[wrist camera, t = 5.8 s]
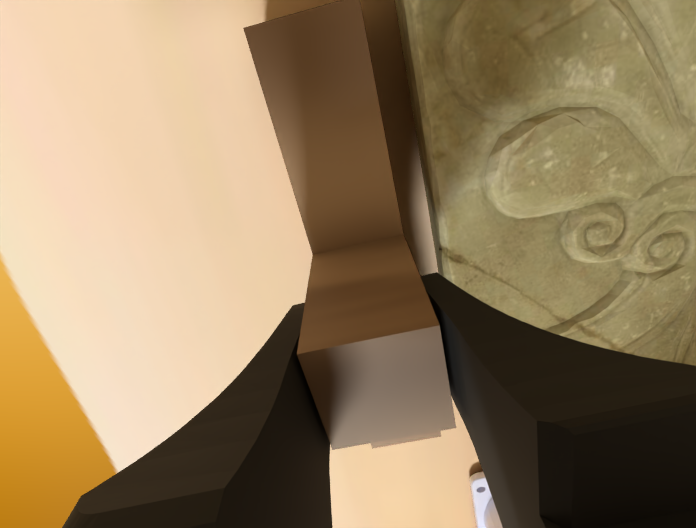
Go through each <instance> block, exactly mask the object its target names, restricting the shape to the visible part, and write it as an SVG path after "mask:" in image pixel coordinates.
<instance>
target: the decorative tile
mask: <svg viewBox="0 0 696 528" xmlns="http://www.w3.org/2000/svg"><path fill="white" fill-rule="evenodd" d="M395 5H396V11H397V17H398V23H399V29H400V36H401V44H402V50H403V55H404V60H405V67H406V73H407V79H408V86H409V93H410V99H411V105H412V111H413V116H414V123H415V129H416V135H417V141H418V148H419V155H420V161H421V167H422V173H423V179H424V185H425V191H426V197H427V203H428V210H429V216H430V222H431V228H432V235H433V241H434V247H435V253H436V259H437V266H438V273H439V274H440V275H442V276H443V277H445V278H446V279H448V280H449V281H450V282H452V283H453V284H455V285H456V286H458V287H459V288H461V289H462V290H464V291H466V292H467V293H469V294H470V295H472V296H474V297H475V298H477V299H479V300H480V301H482V302H484V303H486V304H488V305H489V306H491V307H493V308H495V309H497V310H499V311H501V312H503V313H505V314H507V315H509V316H511V317H514V318H516V319H518V320H520V321H523V322H525V323H528V324H530V325H533V326H535V327H538V328H540V329H543V330H546V331H549V332H551V333H554V334H557V335H560V336H564V337H567V338H570V339H573V340H577V341H580V342H583V343H587V344H590V345H594V346H598V347H602V348H606V349H610V350H615V351H619V352H623V353H628V354H632V355H637V356H641V357H647V358H653V359H659V360H665V361H671V362H677V363H683V364H689V365H695V366H696V0H395Z"/></svg>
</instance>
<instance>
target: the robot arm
mask: <svg viewBox="0 0 696 528" xmlns="http://www.w3.org/2000/svg"><path fill="white" fill-rule="evenodd" d="M420 277H421V280H422V282H423V285H424V287H425V290H426V292H427V295H428V297H429V300H430V302H431V305H432V307H433V310H434V312H435V315H436V317H437V320H438V322H439V325H440V330H441V337H442V343H443V349H444V355H445V362H446V368H447V374H448V380H449V387H450V393H451V396H452V398H453V400H454V402H455V405H456V407H457V409H458V411H459V413H460V415H461V417H462V419H463V421H464V424H465V426H466V428H467V430H468V433H469V435H470V437H471V440H472V442H473V445H474V447H475V450H476V453H477V456H478V459H479V461H480V464H481V467H482V470H483V472H478V473H475V474H473V475H472V476H471V477H470V487H471V493H472V500H473V506H474V513H475V519H476V526H477V528H696V366H695V365H689V364H683V363H677V362H671V361H665V360H659V359H653V358H647V357H641V356H637V355H632V354H628V353H623V352H619V351H615V350H610V349H606V348H602V347H598V346H594V345H590V344H587V343H583V342H580V341H577V340H573V339H570V338H567V337H564V336H560V335H557V334H554V333H551V332H549V331H546V330H543V329H540V328H538V327H535V326H533V325H530V324H528V323H525V322H523V321H520V320H518V319H516V318H514V317H511V316H509V315H507V314H505V313H503V312H501V311H499V310H497V309H495V308H493V307H491V306H489V305H488V304H486V303H484V302H482V301H480V300H479V299H477V298H475V297H474V296H472V295H470V294H469V293H467V292H466V291H464V290H462V289H461V288H459V287H458V286H456V285H455V284H453V283H452V282H450V281H449V280H448V279H446V278H445V277H443V276H442V275H440V274H438V273H432V274H428V275H424V276H420ZM304 306H305V303H301V304H297V305H293V306H292V307H291V309H290V310H289V311H288V313H287V314H286V316H285V317H284V318H283V320H282V321H281V323H280V324H279V325H278V327H277V328H276V330H275V331H274V332H273V334H272V335H271V336H270V338H269V339H268V340H267V342H266V343H265V344H264V346H263V347H262V348H261V349H260V351H259V352H258V353H257V354H256V355H255V357H254V358H253V359H252V360H251V361H250V363H249V364H248V365H247V366H246V367H245V369H244V370H243V371H242V372H241V373H240V374H239V375H238V376H237V377H236V379H235V380H234V381H233V382H232V383H231V384H230V385H229V386H228V387H227V388H226V389H225V390H224V391H223V392H222V393H221V394H220V395H219V396H218V397H217V398H215V399H214V400H213V401H212V402H211V403H210V404H209V405H208V406H206V407H205V408H204V409H203V410H202V411H201V412H199V413H198V414H197V415H196V416H195V417H194V418H192V419H191V420H190V421H189V422H188V423H187V424H186V425H184V426H183V427H182V428H181V429H179V430H178V431H177V432H175V433H174V434H173V435H172V436H170V437H169V438H168V439H166V440H165V441H164V442H162V443H161V444H160V445H158V446H157V447H155V448H154V449H153V450H151V451H150V452H148V453H147V454H146V455H144V456H143V457H141V458H140V459H138V460H137V461H136V462H134V463H133V464H131V465H129V466H128V467H126V468H125V469H123V470H122V471H120V472H119V473H117V474H116V475H114V476H112V477H111V478H109V479H108V480H106V481H105V482H103V483H102V484H100V485H98V486H97V487H95V488H94V489H92V490H91V491H89V492H87V493H85V494H84V495H82V496H81V498H80V499H79V501H78V502H77V504H76V506H75V507H74V509H73V511H72V512H71V514H70V516H69V517H68V519H67V521H66V522H65V524H64V526H63V527H62V528H332V515H331V496H330V476H329V454H330V442H329V439H328V436H327V434H326V431H325V428H324V426H323V423H322V420H321V418H320V415H319V412H318V410H317V407H316V404H315V402H314V399H313V396H312V394H311V391H310V388H309V386H308V383H307V380H306V378H305V375H304V372H303V370H302V367H301V364H300V362H299V359H298V356H297V349H298V343H299V337H300V331H301V325H302V319H303V313H304Z"/></svg>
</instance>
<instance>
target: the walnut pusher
mask: <svg viewBox="0 0 696 528" xmlns="http://www.w3.org/2000/svg"><path fill="white" fill-rule="evenodd" d="M244 32H245V35H246V38H247V41H248V45H249V48H250V51H251V54H252V58H253V61H254V64H255V67H256V71H257V74H258V77H259V80H260V84H261V87H262V90H263V94H264V97H265V100H266V103H267V107H268V110H269V113H270V116H271V120H272V123H273V126H274V129H275V133H276V136H277V139H278V142H279V146H280V149H281V152H282V155H283V159H284V162H285V165H286V169H287V172H288V175H289V178H290V182H291V185H292V188H293V191H294V195H295V198H296V201H297V204H298V208H299V211H300V214H301V217H302V221H303V224H304V227H305V230H306V234H307V237H308V240H309V244H310V247H311V250H312V253H313V257H312V263H311V270H310V276H309V282H308V288H307V294H306V300H305V306H304V313H303V319H302V325H301V331H300V337H299V343H298V349H297V356H298V359H299V362H300V364H301V367H302V370H303V372H304V375H305V378H306V380H307V383H308V386H309V388H310V391H311V394H312V396H313V399H314V402H315V404H316V407H317V410H318V412H319V415H320V418H321V420H322V423H323V426H324V428H325V431H326V434H327V436H328V439H329V442H330V444H331V447H332V450H334V449H340V448H345V447H351V446H357V445H362V444H368V443H371V446H372V448H377V447H383V446H389V445H394V444H400V443H406V442H411V441H417V440H423V439H428V438H434V437H440V436H441V433H440V431H441V430H447V429H452V428H456V424H455V418H454V412H453V406H452V399H451V393H450V387H449V380H448V374H447V368H446V362H445V355H444V349H443V343H442V337H441V330H440V325H439V322H438V320H437V317H436V315H435V312H434V310H433V307H432V305H431V302H430V300H429V297H428V295H427V292H426V290H425V287H424V285H423V282H422V280H421V277H420V275H419V272H418V270H417V267H416V265H415V262H414V260H413V257H412V255H411V252H410V250H409V247H408V245H407V242H406V240H405V237H404V235H403V229H402V224H401V219H400V213H399V208H398V203H397V197H396V192H395V187H394V181H393V176H392V170H391V165H390V160H389V154H388V149H387V144H386V138H385V133H384V128H383V122H382V117H381V111H380V106H379V101H378V95H377V90H376V85H375V79H374V74H373V69H372V63H371V58H370V53H369V47H368V42H367V36H366V31H365V26H364V20H363V15H362V10H361V4H360V0H341V1H337V2H333V3H330V4H326V5H323V6H319V7H316V8H312V9H309V10H305V11H302V12H298V13H295V14H291V15H288V16H284V17H281V18H277V19H274V20H270V21H267V22H263V23H259V24H256V25H252V26H249V27H245V28H244Z"/></svg>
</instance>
